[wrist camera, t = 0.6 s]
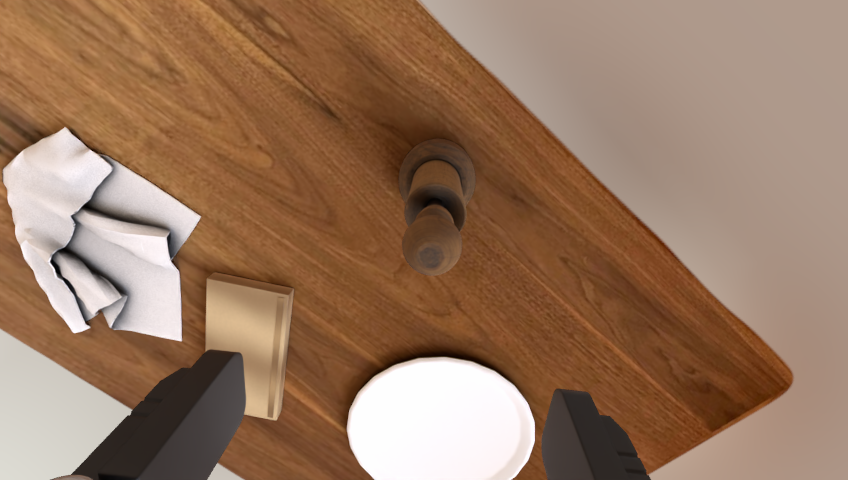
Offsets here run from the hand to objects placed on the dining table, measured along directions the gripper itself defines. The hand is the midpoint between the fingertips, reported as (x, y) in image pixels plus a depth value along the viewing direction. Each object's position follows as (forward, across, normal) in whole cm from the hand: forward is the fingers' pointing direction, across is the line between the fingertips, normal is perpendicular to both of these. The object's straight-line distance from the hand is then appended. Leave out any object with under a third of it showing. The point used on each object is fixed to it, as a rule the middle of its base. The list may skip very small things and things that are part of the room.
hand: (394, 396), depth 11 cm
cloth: (+28, +31, +11) cm, 43 cm away
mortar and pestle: (+28, -1, 0) cm, 28 cm away
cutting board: (+27, +17, +20) cm, 38 cm away
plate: (+28, -4, +29) cm, 40 cm away
